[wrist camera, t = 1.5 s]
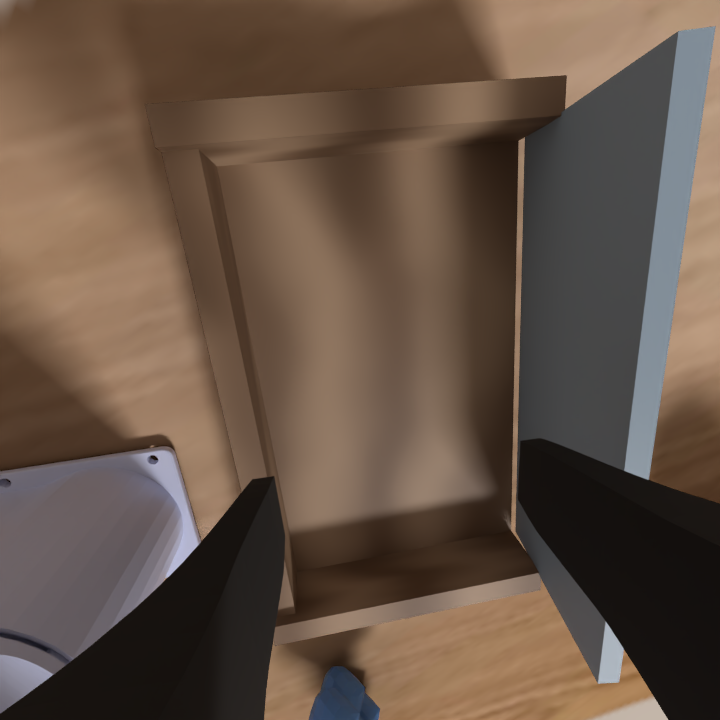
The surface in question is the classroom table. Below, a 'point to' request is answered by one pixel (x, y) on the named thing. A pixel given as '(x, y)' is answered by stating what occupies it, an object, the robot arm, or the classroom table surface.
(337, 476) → the tray
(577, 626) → the panel
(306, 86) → the classroom table surface
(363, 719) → the grapes
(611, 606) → the robot arm
